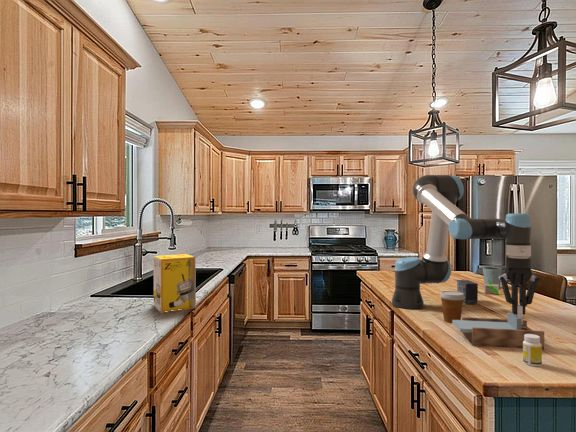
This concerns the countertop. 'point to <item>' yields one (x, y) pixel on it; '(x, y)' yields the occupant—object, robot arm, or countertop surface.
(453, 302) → the disposable coffee cup
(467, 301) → the small box
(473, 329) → the box body
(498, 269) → the drinking glass
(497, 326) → the cover plate
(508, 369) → the countertop surface
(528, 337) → the supplement bottle
